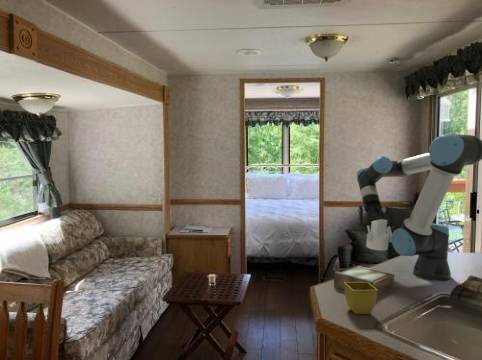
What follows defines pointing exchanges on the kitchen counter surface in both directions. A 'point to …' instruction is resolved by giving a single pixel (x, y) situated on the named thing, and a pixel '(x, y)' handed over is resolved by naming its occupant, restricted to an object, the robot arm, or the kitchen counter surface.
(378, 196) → the robot arm
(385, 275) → the dock
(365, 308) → the flower pot
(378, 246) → the cylinder with rectangular tab
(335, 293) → the kitchen counter surface
